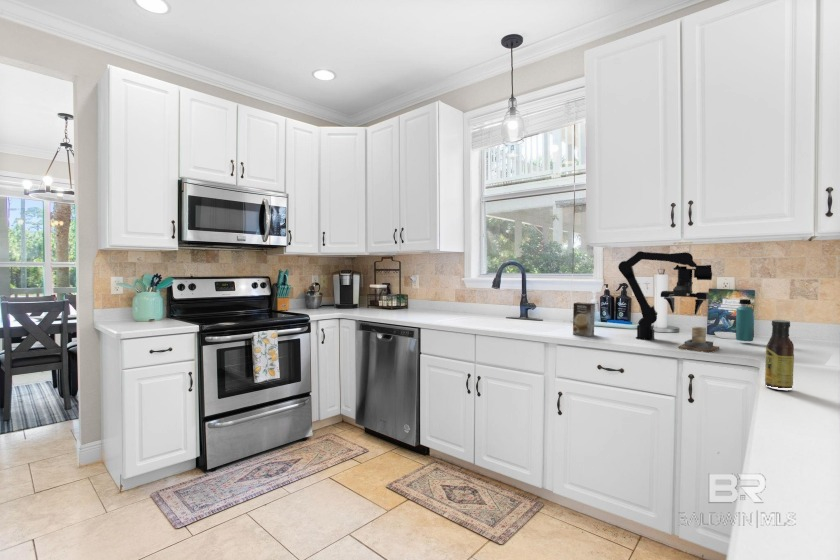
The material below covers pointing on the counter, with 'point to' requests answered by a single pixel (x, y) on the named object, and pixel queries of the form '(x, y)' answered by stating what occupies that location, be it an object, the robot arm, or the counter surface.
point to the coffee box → (583, 318)
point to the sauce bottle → (779, 356)
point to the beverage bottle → (744, 322)
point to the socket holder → (698, 346)
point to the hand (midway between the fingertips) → (684, 313)
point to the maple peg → (699, 335)
